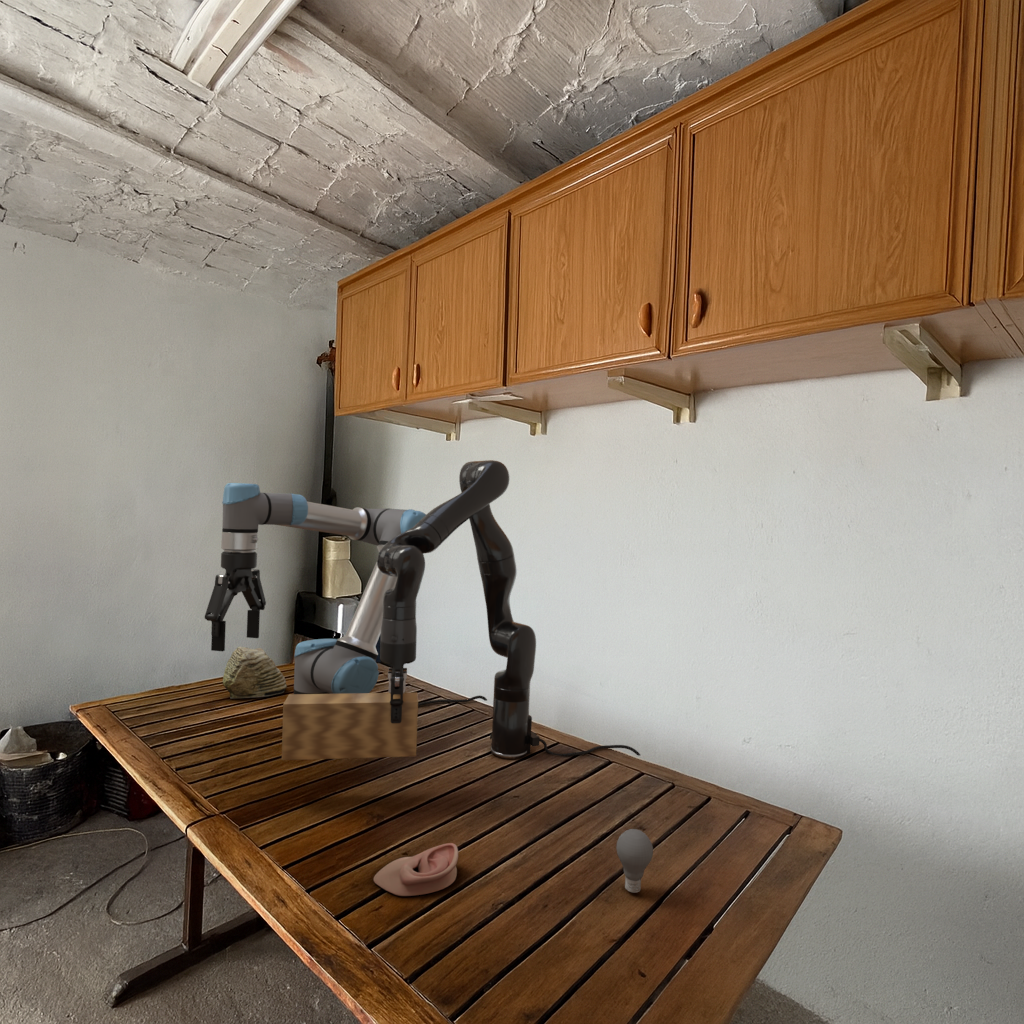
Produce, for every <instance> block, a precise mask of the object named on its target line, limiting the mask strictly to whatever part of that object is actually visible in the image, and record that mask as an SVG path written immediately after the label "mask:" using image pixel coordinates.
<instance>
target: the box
mask: <svg viewBox="0 0 1024 1024" xmlns="http://www.w3.org/2000/svg"><path fill="white" fill-rule="evenodd" d="M400 696H401V695H400V694H394V695H393V699H400ZM390 701H391V694H389V692H370V693H347V694H294V693H292V694H291V693H289V694H288V695H287V697H286V699H285V700H284V702H283V705H282V734H281V735H282V736H281V737H282V739H281V761H305V760H333V759H334V760H340V759H342V760H343V759H370V758H371V759H373V758H374V759H375V758H405V757H417V749H418V748H417V746H418V745H417V743H418V719H419V718H418V717H419V716H418V715H419V706H418V703H419V695H418V692H405V693H404V694H403V705H402V720H401V723H391V705H390Z"/></svg>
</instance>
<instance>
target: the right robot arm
mask: <svg viewBox="0 0 1024 1024" xmlns="http://www.w3.org/2000/svg"><path fill="white" fill-rule="evenodd" d="M458 477H459V481H458V482H459V483H458V484H459V488H460V493H459V494H457V495H455V496H453V497H452V498H450V499H448V500H446V501H444V502H443V503H440V504H439V505H437V506H436V507H433V508H432V509H431V510H430V511H428V512H427V513H426V515H425V516H424V517H423V518H422V519H421V520H420V521H419V522H418V523H417V524H416V525H415V526H414V527H413V528H411V529H409V530H407V531H405V532H403V533H402V534H400V535H398V536H397V537H395V538H393V539H392V540H390V541H389V542H388V543H386V544H385V545H384V546H383V547H382V549H381V550H380V552H379V551H378V554H377V557H376V562H377V566H378V568H379V570H380V571H381V572H382V573H383V574H385V575H388V576H393V577H397V581H396V585H395V588H392V589H389V590H387V591H386V592H385V593H384V596H383V613H382V624H381V634H380V643H379V661H380V662H381V663H384V664H385V665H391V667H388V668H387V669H388V671H387V680H388V693H389V694H391V701H390V705H391V723H401V720H402V705H403V694H404V693H406V685H407V684H406V682H407V679H408V668H407V667H404V665H406V664H411V663H414V662H415V661H416V659H417V640H418V639H417V638H418V637H417V636H418V635H417V634H418V625H417V599H418V594H419V592H420V589H421V586H422V581H423V578H424V575H425V571H426V558H425V555H424V554H430V553H433V552H434V551H436V549H437V550H438V548H439V547H440V546H441V545H442V544H443V543H444V542H445V541H446V540H447V539H449V537H450V536H451V535H452V534H453V533H454V532H455V531H457V530H458V529H459V528H460V527H461V526H462V525H463V524H465V523H466V522H467V521H468V520H469V523H470V528H471V532H472V537H473V541H474V546H475V552H476V553H475V554H476V557H477V558H476V559H477V564H478V569H479V575H480V579H481V583H482V590H483V596H484V602H485V608H486V617H487V631H488V640H489V644H490V648H491V649H492V651H493V652H494V654H496V655H498V656H501V657H502V658H503V657H504V658H506V665H505V669H502V670H499V671H497V672H496V673H495V674H494V677H493V678H494V680H493V701H492V702H493V703H492V722H491V723H492V724H491V725H492V727H491V729H492V730H491V733H490V734H489V739H490V740H491V743H490V745H491V746H490V753H491V754H492V755H493V756H495V757H498V758H499V759H500V758H501V759H507V760H515V759H521V758H525V757H526V756H527V755H531V747H539V746H540V743H541V744H542V745H543V750H544V751H545V752H546V753H547V754H548V755H552V756H558V757H574V756H584V755H588V754H591V753H592V752H595V751H597V750H605V749H606V750H607V749H625V750H629V751H631V752H632V753H634V754H635V755H636V756H638V757H639V756H641V753H640V752H639V751H638V750H636V749H635V748H633V747H631V746H629V745H627V744H626V745H624V744H609V745H607V744H606V745H597V746H594V747H592V748H590V749H588V750H584V751H576V752H568V753H556V752H553V751H550V750H549V749H548V745H547V742H546V741H545V740H544V739H542V738H541V737H540V736H539V735H537V733H535V732H533V731H532V727H533V725H532V724H533V717H532V715H530V699H531V698H530V695H531V680H532V678H533V675H534V673H535V662H536V653H537V637H536V633H535V630H534V629H533V627H531V626H530V625H527V624H524V623H521V622H517V621H514V618H513V614H512V609H511V602H510V601H511V594H512V592H513V588H514V586H515V582H516V579H517V573H518V572H517V570H518V569H517V562H516V557H515V552H514V547H513V545H512V543H511V540H510V539H509V537H508V536H507V534H506V533H505V531H504V529H502V527H501V526H500V525H499V523H498V522H497V520H496V519H495V515H494V514H493V512H492V507H491V503H493V502H494V501H496V500H498V499H499V498H500V497H502V496H503V495H504V494H505V492H507V490H508V488H509V484H510V473H509V470H508V467H507V466H506V465H505V463H503V462H502V461H499V460H494V459H493V460H492V459H491V460H490V459H489V460H487V459H486V460H474V461H467V462H465V463H464V464H463V465H462V467H461V468H460V471H459V476H458ZM394 694H400V695H401V696H400V699H393V695H394Z"/></svg>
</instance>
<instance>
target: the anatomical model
mask: <svg viewBox="0 0 1024 1024" xmlns="http://www.w3.org/2000/svg"><path fill="white" fill-rule="evenodd" d="M458 861H459V848H458V846H457V845H456V844H455V843H452V842H448V843H443V844H439V845H437V846H433V847H430V848H428V849H425V850H423V851H422V852H420V853H417V854H415V855H412V856H404V857H399V858H397V859H395V860H393V861H390V862H389V863H388V864H386V865H385V866H383V867H382V868H381V869H380V870H379V871H377V872H376V874H375V875H374V876H373V882H374V883H375V885H377V886H378V887H379V888H381V889H383V890H384V891H386V892H388V893H390V894H393V895H395V896H399V897H411V896H419V895H420V896H422V895H426V894H431V893H435V892H439V891H441V890H444V889H446V888H448V887H449V886H451V885H452V884H453V883H454V882H455V881H456V879H457V874H458V869H457V864H458Z"/></svg>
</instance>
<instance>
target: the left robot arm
mask: <svg viewBox="0 0 1024 1024" xmlns="http://www.w3.org/2000/svg"><path fill="white" fill-rule="evenodd" d="M223 488H224V489H223V496H222V503H221V504H222V530H221V531H222V532H221V541H220V542H221V544H220V549H221V550H223V551H222V552H221V553H220V568H222V569H224V570H225V572H224V574H215V579H214V580H215V581H214V586H213V589H212V593H211V595H210V598H209V601H208V604H207V608H206V611H205V614H204V620H206V621H208V622H211V630H210V631H211V633H210V634H211V645H210V651H212V652H225V651H226V625H227V621H226V620H224V619H225V616H226V614H227V612H228V611H229V608H230V606H231V604H232V602H233V600H234V598H235V597H236V596H238V594H239V593H242V595H243V597H244V600H245V601H246V603H247V606H248V607H249V609H247V617H246V638H247V639H248V638H249V639H259V638H260V620H261V619H260V617H261V611H264V610H265V609H266V605H267V600H266V596H265V594H264V590H263V585H262V581H261V570H260V569H258V568H257V566H258V553H257V552H256V551H255V550H257V549H258V541H259V537H258V532H259V525H260V526H264V525H267V526H269V525H271V526H273V525H274V526H280V527H287V528H293V529H299V530H300V529H301V530H308V531H315V532H319V533H328V534H334V535H340V536H341V535H343V536H347V537H348V538H349V539H350V540H353V541H359V542H363V543H367V544H370V545H373V546H376V549H377V551H378V553H379V552H380V550H381V549H382V547H383V546H384V545H385V544H386V543H388V542H389V541H390V540H392V539H393V538H395V537H397V536H398V535H400V534H402V533H403V532H405V531H407V530H409V529H411V528H413V527H414V526H415V525H416V524H417V523H418V522H419V521H420V520H421V519H422V518H423V517H424V516H425V515H427V513H424V512H423V511H421V510H415V509H413V508H411V509H410V508H409V509H401V508H399V509H398V508H367V507H359V506H357V507H354V508H353V509H350V508H345V507H339V506H335V505H330V504H323V503H318V502H312V501H307V499H306V497H305V496H304V495H302V494H299V493H283V492H281V493H279V492H262V491H261V490H260V485H259V484H257V483H243V482H228V483H226V484H225V486H224V487H223ZM256 568H257V569H256ZM396 581H397V577H393V576H388V575H385V574H383V573H382V572H381V571H380V570H379V568H378V566H377V561H376V562H375V564H374V567H373V569H372V572H371V574H370V576H369V578H368V581H367V583H366V585H365V588H364V590H363V592H362V595H361V597H360V600H359V602H358V604H357V607H356V609H355V612H354V614H353V616H352V619H351V621H350V622H349V625H348V628H347V630H346V632H345V635H343V636H341V637H340V638H318V639H308V640H304V641H300V642H299V643H297V644H296V646H295V650H294V655H293V657H294V672H293V673H294V674H293V694H347V693H372V690H373V689H374V688H375V687H376V684H377V682H378V680H379V676H380V675H379V674H380V671H379V666H378V663H377V662H376V661H377V659H378V656H379V652H378V651H377V647H376V646H377V643H378V641H379V638H380V637H381V624H382V613H383V596H384V593H385V592H386V591H387V590H389V589H392V588H395V585H396ZM467 699H468V700H467ZM477 699H480V700H483V701H484V702H485V701H488V699H487V698H486V697H485V696H484V695H476V696H472V697H469V698H464V699H444V698H443V699H433V700H427V701H422V702H418V707H421V706H425V705H429V704H436V703H437V704H439V703H468V702H471V701H474V700H477Z"/></svg>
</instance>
